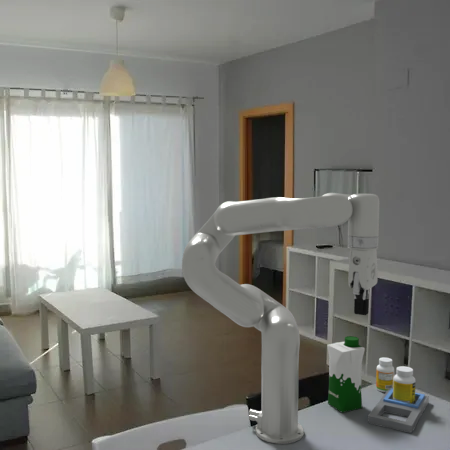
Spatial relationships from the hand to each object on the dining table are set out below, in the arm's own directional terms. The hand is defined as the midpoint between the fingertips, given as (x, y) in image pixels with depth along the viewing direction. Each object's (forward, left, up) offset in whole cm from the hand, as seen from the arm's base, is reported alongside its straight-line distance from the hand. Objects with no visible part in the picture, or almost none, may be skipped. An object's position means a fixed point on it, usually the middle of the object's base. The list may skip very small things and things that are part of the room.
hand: (361, 313), depth 142 cm
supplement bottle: (-2, +33, -32) cm, 46 cm away
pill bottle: (+6, +24, -32) cm, 41 cm away
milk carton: (-9, +15, -32) cm, 37 cm away
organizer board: (+6, +19, -32) cm, 38 cm away
